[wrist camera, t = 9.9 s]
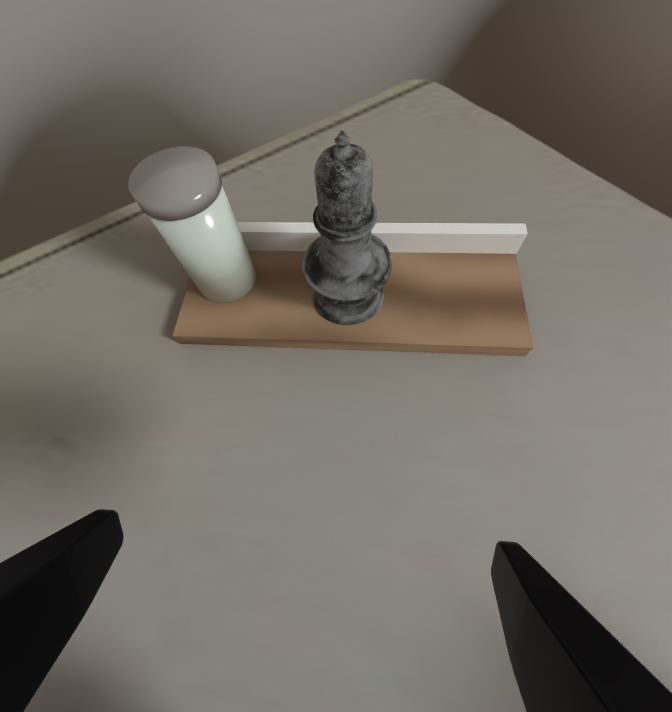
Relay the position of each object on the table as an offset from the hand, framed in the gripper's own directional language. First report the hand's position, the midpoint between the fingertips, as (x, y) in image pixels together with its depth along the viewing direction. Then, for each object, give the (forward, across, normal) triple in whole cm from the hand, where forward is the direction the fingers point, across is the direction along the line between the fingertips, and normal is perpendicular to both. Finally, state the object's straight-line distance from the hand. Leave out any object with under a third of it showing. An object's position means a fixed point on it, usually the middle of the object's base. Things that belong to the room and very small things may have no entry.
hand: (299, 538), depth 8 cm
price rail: (+24, 0, -5) cm, 24 cm away
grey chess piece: (+20, 0, -2) cm, 20 cm away
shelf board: (+21, 0, -2) cm, 21 cm away
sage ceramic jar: (+21, +10, -3) cm, 23 cm away
